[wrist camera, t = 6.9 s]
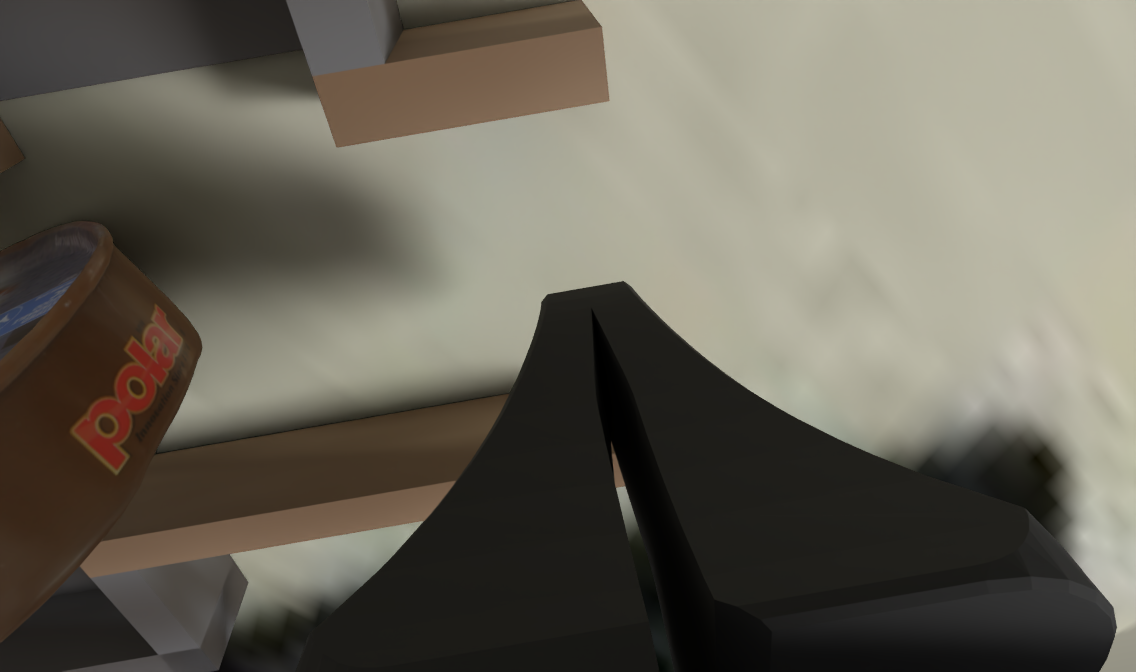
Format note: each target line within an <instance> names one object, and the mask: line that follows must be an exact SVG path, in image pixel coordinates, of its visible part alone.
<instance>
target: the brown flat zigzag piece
mask: <svg viewBox="0 0 1136 672" xmlns="http://www.w3.org/2000/svg"><path fill="white" fill-rule="evenodd" d="M301 49H303V51H304V54H305V57H306V60H307V63H308V66H309V69H310V72H311V74H312V77H313V80H314V83H315V86H316V89H317V92H318V95H319V98H320V101H321V104H322V106H323V109H324V112H325V115H326V118H327V121H328V124H329V127H330V130H331V133H332V136H333V139H334V141H335V144H336V147H343V146H349V145H355V144H361V143H367V142H372V141H378V140H384V139H390V138H396V137H402V136H408V135H413V134H419V133H425V132H431V131H437V130H443V129H449V128H454V127H460V126H466V125H472V124H478V123H484V122H489V121H495V120H501V119H507V118H513V117H519V116H525V115H530V114H536V113H542V112H548V111H554V110H560V109H565V108H571V107H577V106H583V105H589V104H595V103H601V102H606V101H609V92H608V82H607V72H606V63H605V53H604V43H603V33H602V26H601V25H600V24H599V22H598V21H597V20H596V19H595V17H594V16H593V15H592V13H591V12H590V11H589V9H588V8H587V7H586V5H585V4H584V3H583V1H582V0H576V1H570V2H564V3H559V4H553V5H547V6H541V7H535V8H529V9H523V10H518V11H512V12H506V13H500V14H494V15H488V16H483V17H477V18H471V19H465V20H459V21H453V22H447V23H442V24H436V25H430V26H424V27H418V28H412V29H406V30H404V29H403V25H402V21H401V18H400V14H399V10H398V6H397V2H396V0H0V101H3V100H9V99H14V98H20V97H26V96H32V95H38V94H44V93H50V92H55V91H61V90H67V89H73V88H79V87H85V86H91V85H96V84H102V83H108V82H114V81H120V80H126V79H132V78H137V77H143V76H149V75H155V74H161V73H167V72H173V71H178V70H184V69H190V68H196V67H202V66H208V65H213V64H219V63H225V62H231V61H237V60H243V59H249V58H254V57H260V56H266V55H272V54H278V53H284V52H290V51H295V50H301ZM23 159H25V158H24V156H23V154H22V153H21V151H20V149H19V148H18V146H17V145H16V143H15V141H14V140H13V138H12V137H11V135H10V133H9V132H8V130H7V129H6V127H5V125H4V124H3V122H2V120H1V119H0V173H2V172H4V171H5V170H7V169H8V168H10V167H12V166H13V165H15V164H17V163H18V162H20V161H22V160H23ZM508 396H509V394H504V395H499V396H493V397H487V398H481V399H475V400H469V401H464V402H458V403H452V404H446V405H440V406H434V407H429V408H423V409H417V410H411V411H405V412H399V413H394V414H388V415H382V416H376V417H370V418H364V419H359V420H353V421H347V422H341V423H335V424H329V425H324V426H318V427H312V428H306V429H300V430H294V431H289V432H283V433H277V434H271V435H265V436H259V437H254V438H248V439H242V440H236V441H230V442H224V443H219V444H213V445H207V446H201V447H195V448H189V449H184V450H178V451H172V452H166V453H160V454H155V455H154V456H153V458H152V460H151V462H150V464H149V466H148V468H147V470H146V473H145V475H144V478H143V480H142V483H141V485H140V488H139V489H138V491H137V492H136V494H135V496H134V497H133V499H132V500H131V502H130V503H129V505H128V506H127V508H126V510H125V511H124V513H123V514H122V516H121V517H120V519H119V520H118V521H117V522H116V524H115V525H114V526H113V527H112V529H111V530H110V531H109V532H108V534H107V535H106V536H105V537H104V538H103V539H102V541H101V542H100V543H99V544H98V545H97V546H96V548H95V549H94V550H93V551H92V552H91V553H90V555H89V556H88V557H87V558H86V559H85V560H84V562H83V563H82V564H81V565H80V566H79V567H78V568H77V569H76V570H75V571H74V573H73V574H72V575H71V576H70V577H69V578H68V579H67V580H66V581H65V582H64V583H63V584H62V585H61V586H60V587H59V588H58V589H57V591H56V592H55V593H54V594H53V595H52V596H51V597H50V598H49V599H48V600H47V601H46V602H45V603H44V604H43V605H42V606H41V607H40V608H39V609H38V610H37V611H35V612H34V613H33V614H32V615H31V616H30V617H29V618H28V619H27V620H26V621H25V622H24V623H23V624H21V625H20V626H19V627H18V628H17V629H16V630H15V631H14V632H13V633H11V634H10V635H9V636H8V637H7V638H6V639H5V640H4V641H2V642H1V643H0V672H210V671H216V670H219V667H220V664H221V661H222V658H223V655H224V652H225V649H226V646H227V644H228V641H229V638H230V635H231V632H232V629H233V626H234V623H235V620H236V617H237V614H238V611H239V608H240V605H241V603H242V600H243V597H244V594H245V591H246V588H247V585H248V581H247V580H246V578H245V577H244V575H243V574H242V572H241V571H240V569H239V568H238V566H237V565H236V563H235V562H234V560H233V559H232V557H231V556H230V555H229V554H232V553H238V552H244V551H250V550H256V549H262V548H267V547H273V546H279V545H285V544H291V543H297V542H302V541H308V540H314V539H320V538H326V537H331V536H337V535H343V534H349V533H355V532H361V531H366V530H372V529H378V528H384V527H390V526H396V525H401V524H407V523H413V522H419V521H425V520H426V518H427V517H428V516H429V515H430V514H431V513H432V512H433V510H434V509H435V508H436V507H437V506H438V504H439V503H440V502H441V500H442V499H443V498H444V497H445V495H446V494H447V493H448V492H449V490H450V489H451V487H452V486H453V485H454V483H455V482H456V481H457V479H458V478H459V476H460V475H461V474H462V472H463V471H464V469H465V468H466V467H467V465H468V464H469V463H470V461H471V460H472V458H473V457H474V455H475V454H476V452H477V451H478V449H479V447H480V446H481V444H482V443H483V441H484V440H485V438H486V436H487V435H488V433H489V431H490V430H491V428H492V426H493V424H494V423H495V421H496V419H497V417H498V416H499V414H500V412H501V410H502V408H503V406H504V404H505V402H506V400H507V398H508ZM611 447H612V458H613V469H614V479H615V486H616V488H617V487H623V486H625V483H624V480H623V477H622V474H621V471H620V468H619V464H618V461H617V458H616V455H615V452H614V449H613V446H612V442H611Z"/></svg>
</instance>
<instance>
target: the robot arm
mask: <svg viewBox="0 0 1136 672" xmlns="http://www.w3.org/2000/svg"><path fill="white" fill-rule="evenodd" d="M611 442H612V446H613V449H614V452H615V455H616V458H617V461H618V464H619V468H620V471H621V474H622V477H623V480H624V483H625V486H626V489H627V493H628V496H629V499H630V502H631V505H632V508H633V511H634V514H635V517H636V521H637V524H638V527H639V530H640V533H641V536H642V539H643V542H644V545H645V548H646V552H647V555H648V558H649V562H650V565H651V569H652V573H653V576H654V580H655V584H656V588H657V593H658V598H659V602H660V607H661V611H662V616H663V620H664V625H665V630H666V634H667V639H668V643H669V648H670V653H671V657H672V662H673V667H674V671H675V672H1099V671H1100V670H1101V668H1102V666H1103V664H1104V663H1105V661H1106V659H1107V657H1108V654H1109V652H1110V648H1111V646H1112V643H1113V640H1114V637H1115V633H1116V628H1117V626H1116V620H1115V614H1114V609H1113V606H1112V605H1111V604H1110V603H1109V601H1108V600H1107V599H1106V598H1105V597H1104V596H1103V594H1102V593H1101V592H1100V591H1099V590H1098V588H1097V587H1096V586H1095V585H1094V584H1093V583H1092V581H1091V580H1090V579H1089V578H1088V577H1087V576H1086V574H1085V573H1084V572H1083V571H1082V569H1081V568H1080V567H1079V565H1078V564H1077V563H1076V562H1075V561H1074V560H1073V558H1072V557H1071V556H1070V555H1069V554H1068V553H1067V551H1066V550H1065V549H1064V548H1063V547H1062V546H1061V544H1060V543H1059V542H1058V541H1057V540H1056V539H1055V538H1054V537H1053V536H1052V535H1051V534H1050V533H1049V532H1048V531H1047V530H1046V529H1045V528H1044V527H1043V526H1042V525H1041V524H1040V523H1039V522H1038V521H1037V520H1036V519H1035V518H1034V517H1033V516H1032V515H1031V514H1030V513H1029V512H1028V511H1027V510H1026V509H1025V508H1023V507H1020V506H1017V505H1014V504H1011V503H1008V502H1005V501H1002V500H999V499H995V498H992V497H989V496H986V495H983V494H980V493H977V492H974V491H971V490H968V489H965V488H962V487H959V486H956V485H953V484H950V483H946V482H943V481H940V480H937V479H934V478H931V477H928V476H926V475H923V474H920V473H918V472H915V471H913V470H910V469H908V468H905V467H903V466H900V465H898V464H895V463H893V462H890V461H888V460H885V459H883V458H880V457H878V456H875V455H873V454H870V453H868V452H866V451H863V450H861V449H859V448H857V447H854V446H852V445H850V444H848V443H845V442H843V441H841V440H839V439H837V438H835V437H833V436H831V435H829V434H827V433H825V432H823V431H821V430H819V429H817V428H815V427H813V426H811V425H809V424H807V423H805V422H803V421H801V420H799V419H797V418H795V417H793V416H791V415H790V414H788V413H786V412H784V411H782V410H781V409H779V408H777V407H775V406H774V405H772V404H770V403H769V402H767V401H766V400H764V399H762V398H761V397H759V396H758V395H756V394H754V393H753V392H751V391H750V390H748V389H747V388H745V387H744V386H742V385H741V384H739V383H738V382H736V381H735V380H734V379H732V378H731V377H729V376H728V375H727V374H725V373H724V372H723V371H721V370H720V369H719V368H718V367H716V366H715V365H714V364H712V363H711V362H710V361H708V360H707V359H706V358H705V357H703V356H702V355H701V354H700V353H699V352H697V351H696V350H695V349H694V348H693V347H691V346H690V345H689V344H688V343H687V342H686V341H685V340H684V339H682V338H681V337H680V336H679V335H678V334H677V333H676V332H674V331H673V330H672V329H671V328H670V327H669V326H668V325H667V324H666V323H665V322H664V321H663V320H662V319H661V318H660V317H659V316H658V315H657V314H656V313H655V312H654V311H653V310H652V309H651V308H650V307H649V306H648V305H647V304H646V303H645V302H644V301H643V300H642V299H641V298H640V296H639V295H638V294H637V293H636V292H635V291H634V289H633V288H632V287H631V286H630V285H628V284H627V283H626V282H624V281H622V282H616V283H610V284H605V285H599V286H593V287H587V288H582V289H576V290H570V291H564V292H559V293H553V294H547V296H546V297H545V298H544V299H543V301H542V302H541V311H540V315H539V320H538V323H537V327H536V330H535V333H534V336H533V339H532V342H531V345H530V348H529V350H528V353H527V355H526V358H525V360H524V363H523V365H522V368H521V371H520V373H519V375H518V377H517V380H516V382H515V384H514V386H513V388H512V390H511V392H510V394H509V396H508V398H507V400H506V402H505V404H504V406H503V408H502V410H501V412H500V414H499V416H498V417H497V419H496V421H495V423H494V424H493V426H492V428H491V430H490V431H489V433H488V435H487V436H486V438H485V440H484V441H483V443H482V444H481V446H480V447H479V449H478V451H477V452H476V454H475V455H474V457H473V458H472V460H471V461H470V463H469V464H468V465H467V467H466V468H465V469H464V471H463V472H462V474H461V475H460V476H459V478H458V479H457V481H456V482H455V483H454V485H453V486H452V487H451V489H450V490H449V492H448V493H447V494H446V495H445V497H444V498H443V499H442V500H441V502H440V503H439V504H438V506H437V507H436V508H435V509H434V510H433V512H432V513H431V514H430V515H429V516H428V517H427V518H426V520H425V521H424V522H423V523H422V524H421V525H420V526H419V527H418V529H417V530H416V531H415V532H414V533H413V534H412V535H411V536H410V538H409V539H408V540H407V541H406V542H405V543H404V544H403V545H402V546H401V548H400V549H399V550H398V551H397V552H396V553H395V554H394V555H393V556H392V557H391V559H390V560H389V561H388V562H387V563H386V564H385V565H384V566H383V567H382V568H381V569H380V570H379V571H378V572H377V573H376V574H375V575H373V576H372V577H371V578H370V579H369V580H368V581H367V582H366V583H365V584H364V585H363V586H361V587H360V588H359V589H358V590H357V591H356V592H355V593H354V594H353V595H352V596H351V597H350V598H348V599H347V600H346V601H345V602H344V603H343V604H342V605H341V606H340V607H339V608H338V609H336V610H335V611H334V612H333V613H332V614H331V615H330V616H329V617H328V618H327V619H326V620H324V621H323V622H322V623H321V624H320V625H319V626H317V627H316V628H315V629H314V630H313V631H312V632H311V633H310V634H309V636H308V639H307V642H306V644H305V647H304V650H303V652H302V655H301V658H300V661H299V663H298V666H297V669H296V671H295V672H659V668H658V664H657V659H656V654H655V650H654V645H653V640H652V635H651V631H650V626H649V621H648V617H647V614H646V610H645V606H644V602H643V598H642V594H641V590H640V586H639V582H638V578H637V574H636V570H635V566H634V562H633V558H632V554H631V549H630V545H629V541H628V537H627V533H626V529H625V525H624V520H623V516H622V512H621V508H620V503H619V499H618V495H617V491H616V486H615V479H614V469H613V458H612V447H611Z"/></svg>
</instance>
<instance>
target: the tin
mask: <svg viewBox="0 0 1136 672" xmlns="http://www.w3.org/2000/svg"><path fill="white" fill-rule="evenodd" d="M201 352H202V343H201V339H200V336H199V335H198V333H197V331H196V330H195V328H194V327H193V326H192V324H191V323H190V321H189V320H188V319H187V318H186V317H185V315H184V314H183V313H182V312H181V311H180V310H179V309H178V308H177V307H176V305H175V304H174V303H173V302H172V301H171V300H170V299H169V298H168V297H167V296H166V295H165V294H164V293H163V292H162V291H161V290H160V289H159V288H158V287H157V286H156V285H155V284H154V283H153V282H152V281H150V280H149V279H148V278H147V277H146V276H145V275H144V274H143V273H142V272H141V271H140V270H139V269H138V268H137V267H136V266H135V265H134V264H133V263H132V262H131V261H130V260H129V259H128V258H127V257H126V256H125V255H124V254H123V253H122V252H121V251H120V250H119V249H117V248H116V247H115V246H114V244H113V238H112V236H111V234H110V233H109V231H108V230H107V229H106V227H105V226H103V225H101V224H100V223H96V222H91V221H75V222H70V223H66V224H63V225H60V226H56V227H53V228H50V229H47V230H45V231H43V232H40V233H38V234H35V235H33V236H31V237H29V238H28V239H26V240H23V241H21V242H18V243H16V244H14V245H12V246H10V247H8V248H6V249H4V250H1V251H0V643H1V642H2V641H4V640H5V639H6V638H7V637H8V636H9V635H10V634H11V633H13V632H14V631H15V630H16V629H17V628H18V627H19V626H20V625H21V624H23V623H24V622H25V621H26V620H27V619H28V618H29V617H30V616H31V615H32V614H33V613H34V612H35V611H37V610H38V609H39V608H40V607H41V606H42V605H43V604H44V603H45V602H46V601H47V600H48V599H49V598H50V597H51V596H52V595H53V594H54V593H55V592H56V591H57V589H58V588H59V587H60V586H61V585H62V584H63V583H64V582H65V581H66V580H67V579H68V578H69V577H70V576H71V575H72V574H73V573H74V571H75V570H76V569H77V568H78V567H79V566H80V565H81V564H82V563H83V562H84V560H85V559H86V558H87V557H88V556H89V555H90V553H91V552H92V551H93V550H94V549H95V548H96V546H97V545H98V544H99V543H100V542H101V541H102V539H103V538H104V537H105V536H106V535H107V534H108V532H109V531H110V530H111V529H112V527H113V526H114V525H115V524H116V522H117V521H118V520H119V519H120V517H121V516H122V514H123V513H124V511H125V510H126V508H127V506H128V505H129V503H130V502H131V500H132V499H133V497H134V496H135V494H136V492H137V491H138V489H139V488H140V485H141V483H142V480H143V478H144V475H145V473H146V470H147V468H148V466H149V464H150V462H151V460H152V458H153V456H154V454H155V452H156V450H157V448H158V446H159V444H160V442H161V441H162V439H163V437H164V435H165V433H166V432H167V430H168V428H169V426H170V424H171V423H172V421H173V419H174V417H175V416H176V414H177V412H178V410H179V408H180V405H181V403H182V401H183V399H184V397H185V395H186V392H187V390H188V387H189V385H190V382H191V380H192V377H193V374H194V371H195V368H196V364H197V361H198V359H199V357H200V355H201Z"/></svg>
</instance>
